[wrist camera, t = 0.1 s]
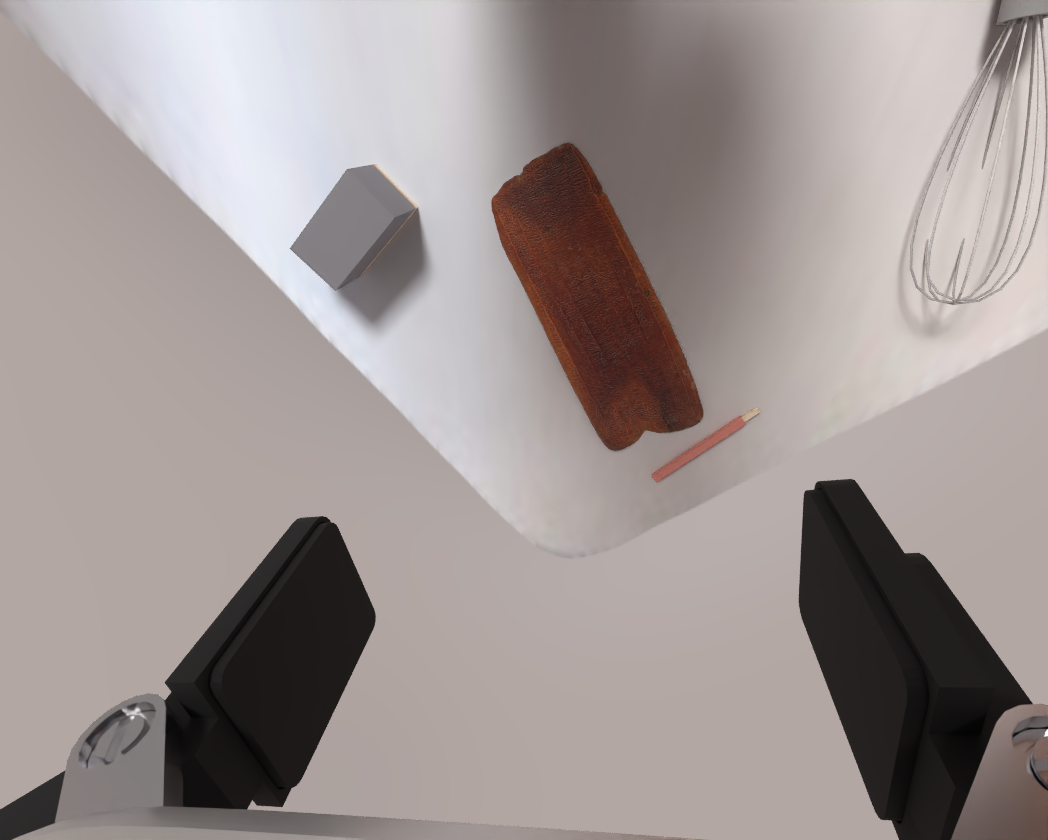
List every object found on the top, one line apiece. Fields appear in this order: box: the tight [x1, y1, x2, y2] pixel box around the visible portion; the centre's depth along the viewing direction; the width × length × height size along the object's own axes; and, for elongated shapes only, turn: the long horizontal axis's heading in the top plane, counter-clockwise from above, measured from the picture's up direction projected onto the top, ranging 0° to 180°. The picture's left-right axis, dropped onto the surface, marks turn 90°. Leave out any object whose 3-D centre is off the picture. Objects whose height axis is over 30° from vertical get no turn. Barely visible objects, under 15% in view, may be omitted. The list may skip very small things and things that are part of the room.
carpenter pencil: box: [652, 407, 760, 482], centre depth 51 cm, size 1×12×1 cm, turn 135°
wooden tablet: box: [492, 143, 703, 450], centre depth 46 cm, size 27×10×2 cm, turn 28°
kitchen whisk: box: [910, 0, 1048, 305], centre depth 31 cm, size 6×34×6 cm, turn 5°
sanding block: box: [290, 164, 418, 291], centre depth 43 cm, size 4×8×6 cm, turn 135°
